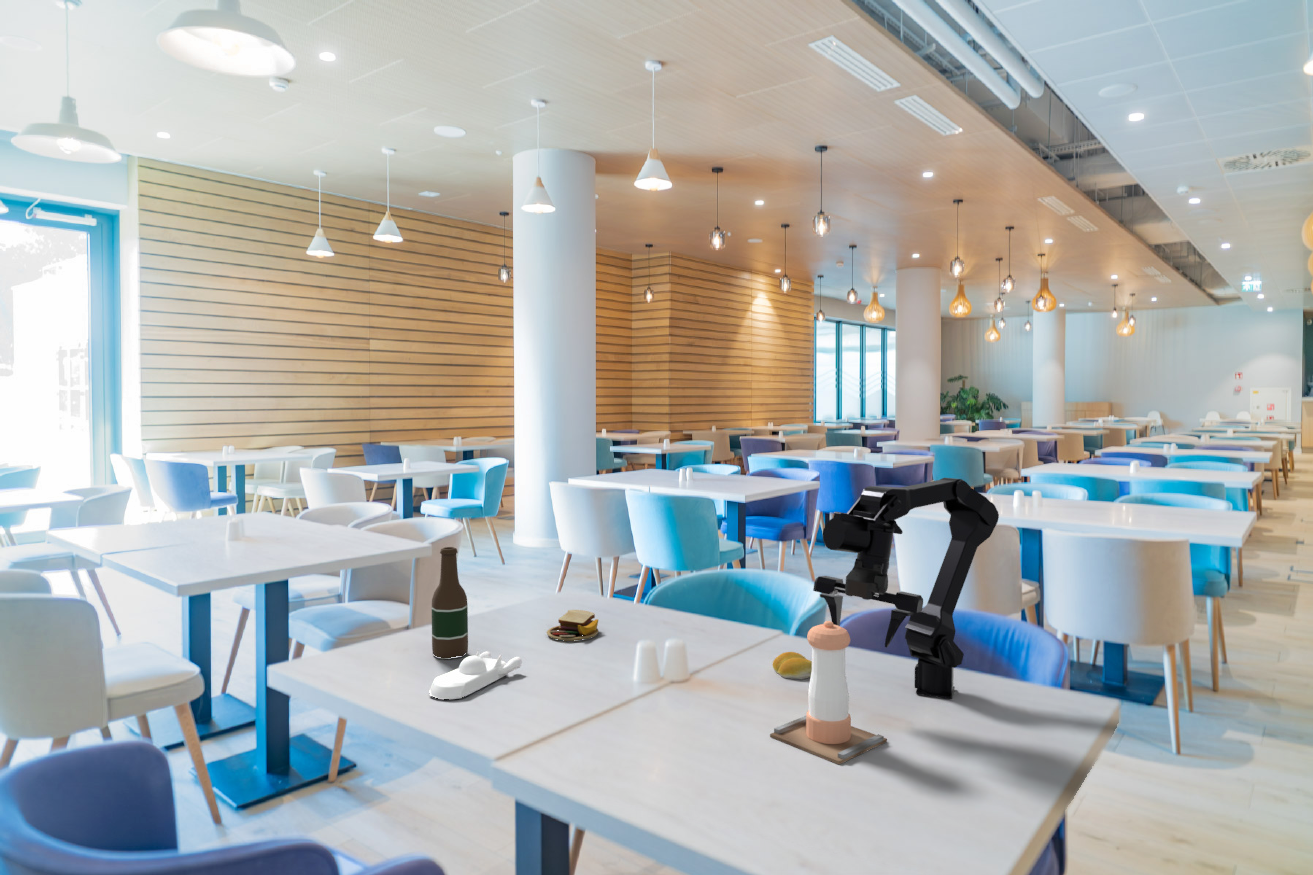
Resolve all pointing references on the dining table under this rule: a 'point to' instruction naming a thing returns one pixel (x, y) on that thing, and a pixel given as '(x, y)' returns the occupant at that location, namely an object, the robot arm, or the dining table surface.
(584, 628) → the toy sandwich meal
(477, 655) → the white elongated plastic piece
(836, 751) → the serving tray
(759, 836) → the dining table surface
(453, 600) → the beer bottle
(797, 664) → the bread roll
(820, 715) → the pepper shaker
